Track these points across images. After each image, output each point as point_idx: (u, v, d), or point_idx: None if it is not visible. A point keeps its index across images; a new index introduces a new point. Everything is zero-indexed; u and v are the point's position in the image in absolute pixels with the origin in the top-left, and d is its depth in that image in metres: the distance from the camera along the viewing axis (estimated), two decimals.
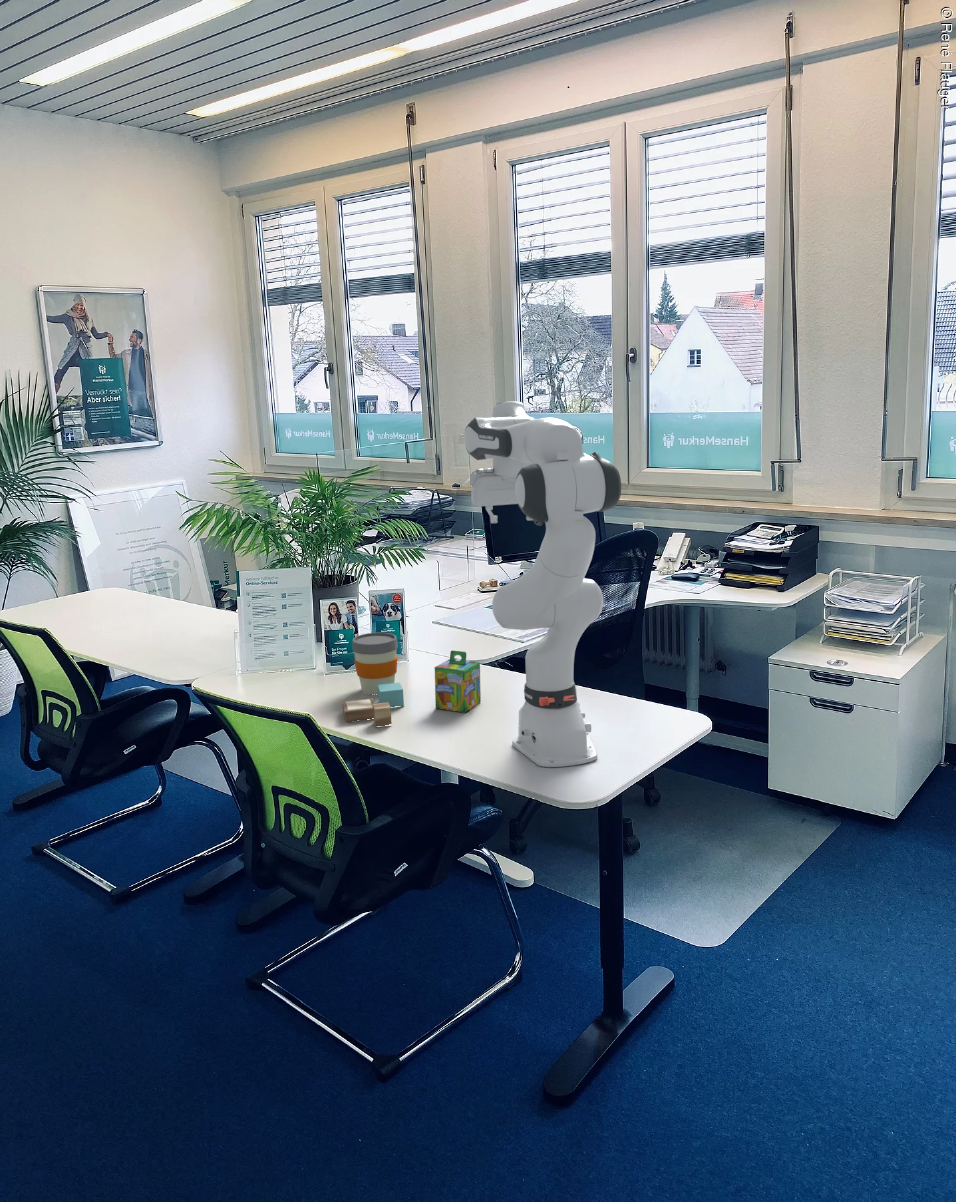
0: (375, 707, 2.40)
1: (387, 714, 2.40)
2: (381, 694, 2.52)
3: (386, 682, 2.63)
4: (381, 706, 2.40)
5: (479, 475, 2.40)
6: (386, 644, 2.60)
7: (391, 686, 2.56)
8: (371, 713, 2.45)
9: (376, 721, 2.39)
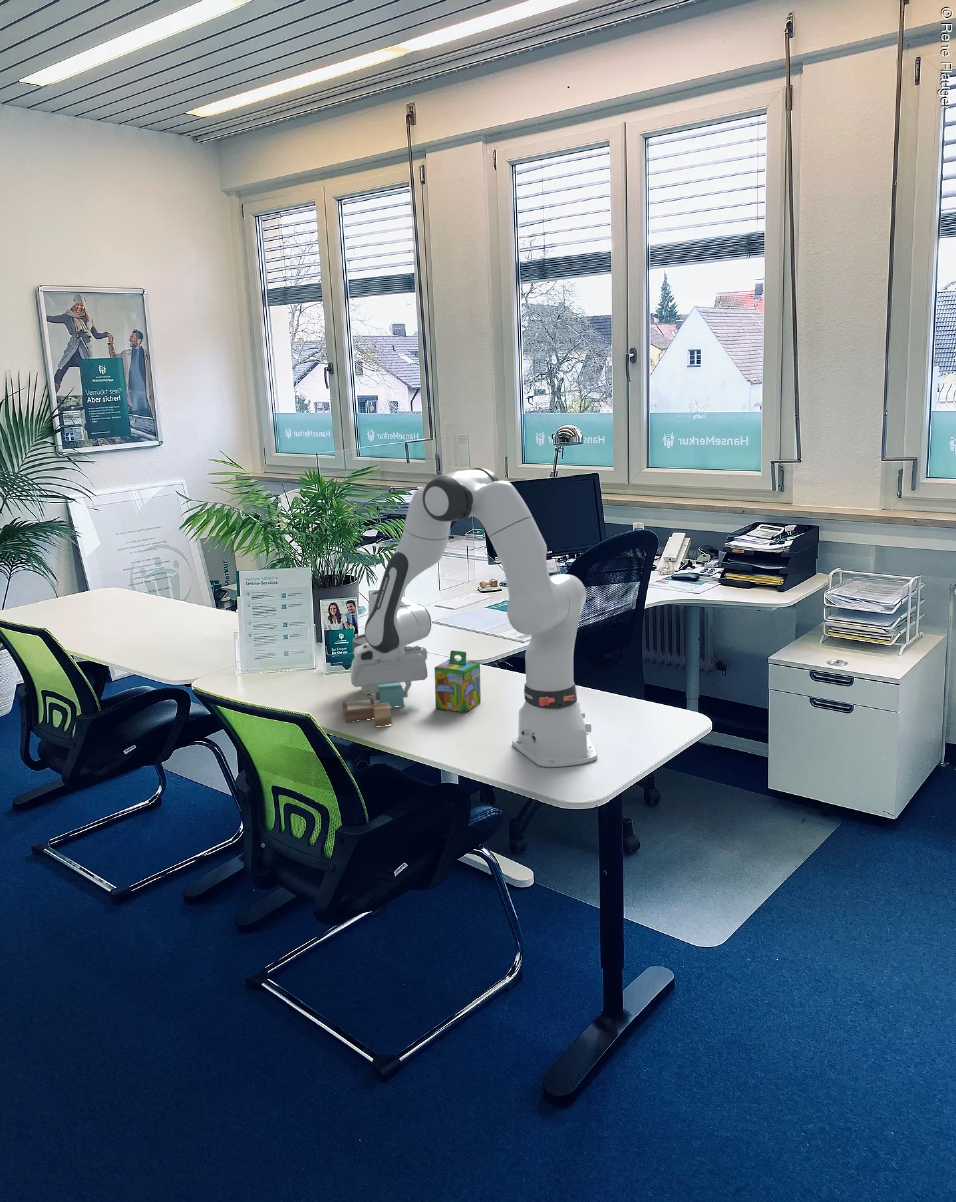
0: (375, 707, 2.40)
1: (387, 714, 2.40)
2: (381, 693, 2.52)
3: None
4: (381, 706, 2.40)
5: None
6: None
7: (391, 685, 2.56)
8: (371, 713, 2.45)
9: (376, 721, 2.39)
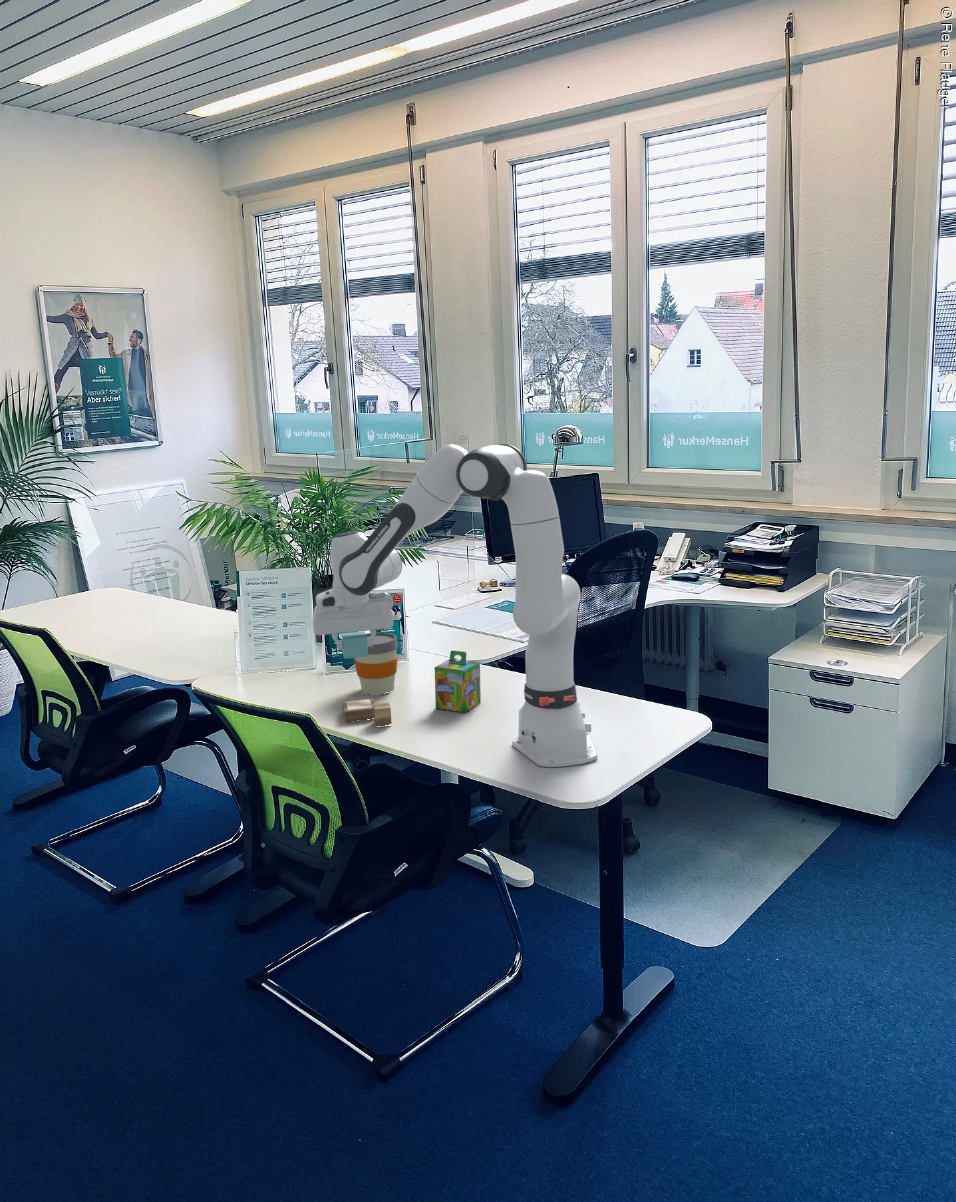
0: (375, 707, 2.40)
1: (387, 714, 2.40)
2: (344, 642, 2.40)
3: (386, 682, 2.63)
4: (381, 706, 2.40)
5: None
6: (386, 644, 2.60)
7: (355, 634, 2.44)
8: (371, 713, 2.45)
9: (376, 721, 2.39)
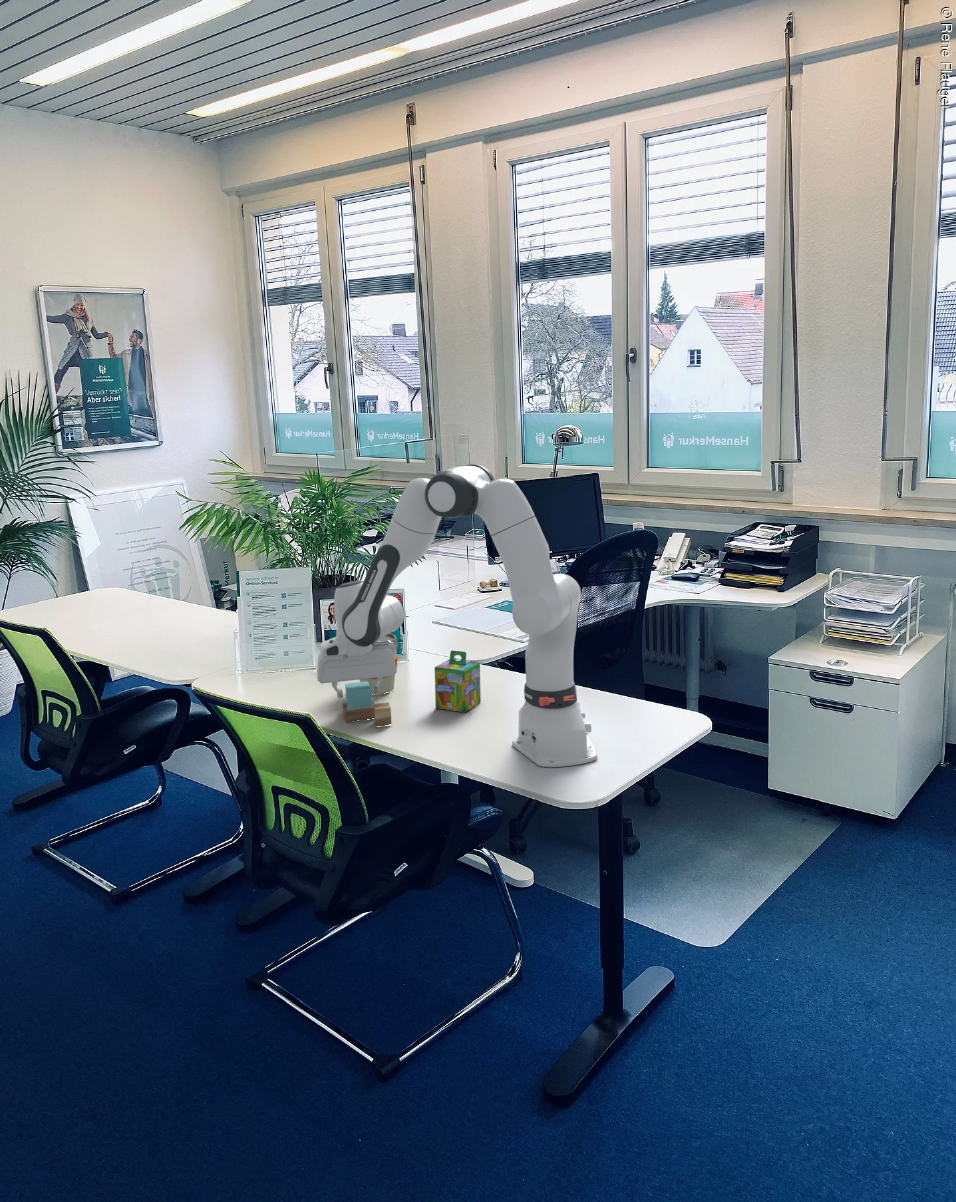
0: (375, 707, 2.40)
1: (387, 714, 2.40)
2: (348, 693, 2.44)
3: (386, 682, 2.63)
4: (381, 706, 2.40)
5: None
6: None
7: (359, 685, 2.47)
8: (371, 713, 2.45)
9: (376, 721, 2.39)
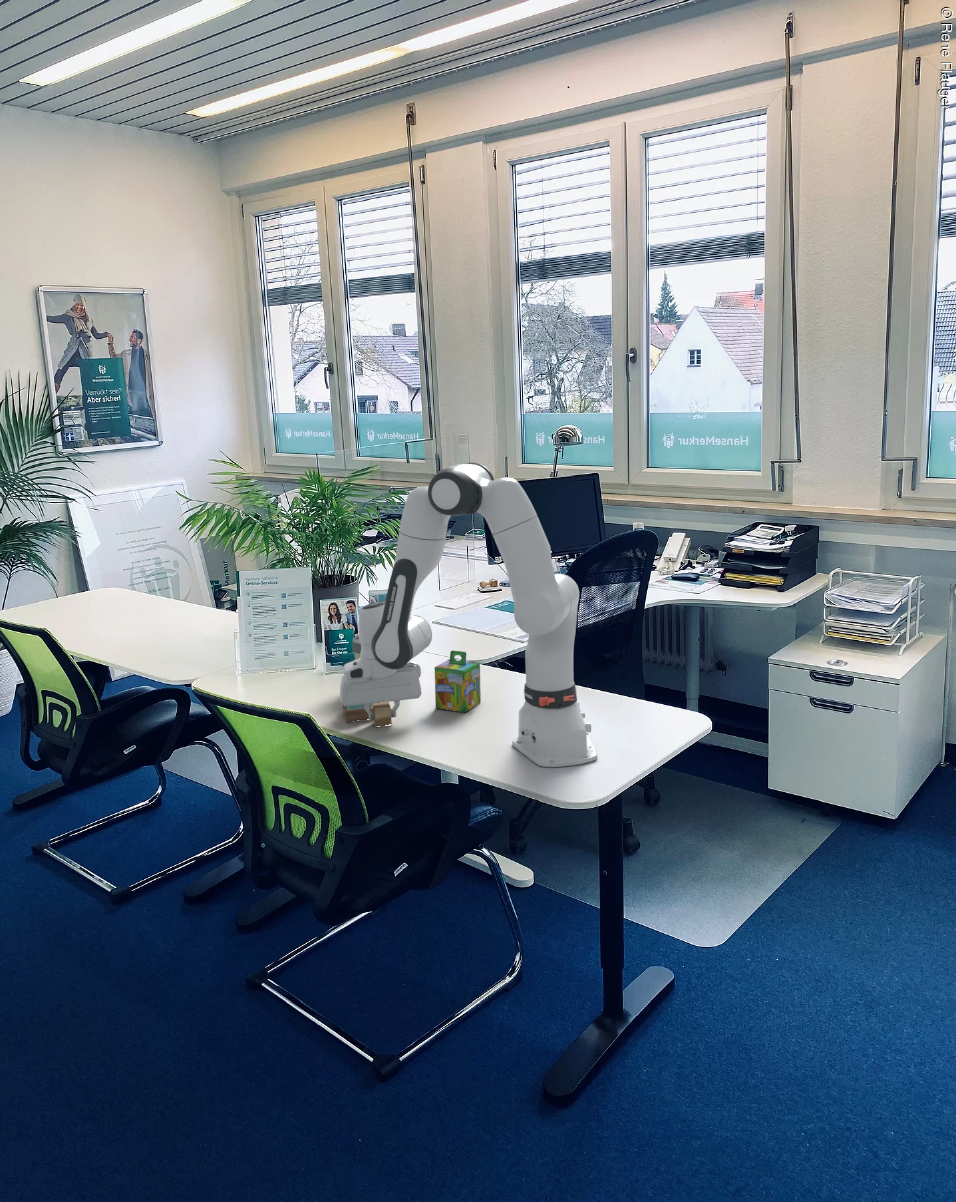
0: (375, 707, 2.40)
1: (387, 714, 2.40)
2: None
3: None
4: (381, 706, 2.40)
5: None
6: None
7: None
8: None
9: (376, 721, 2.39)
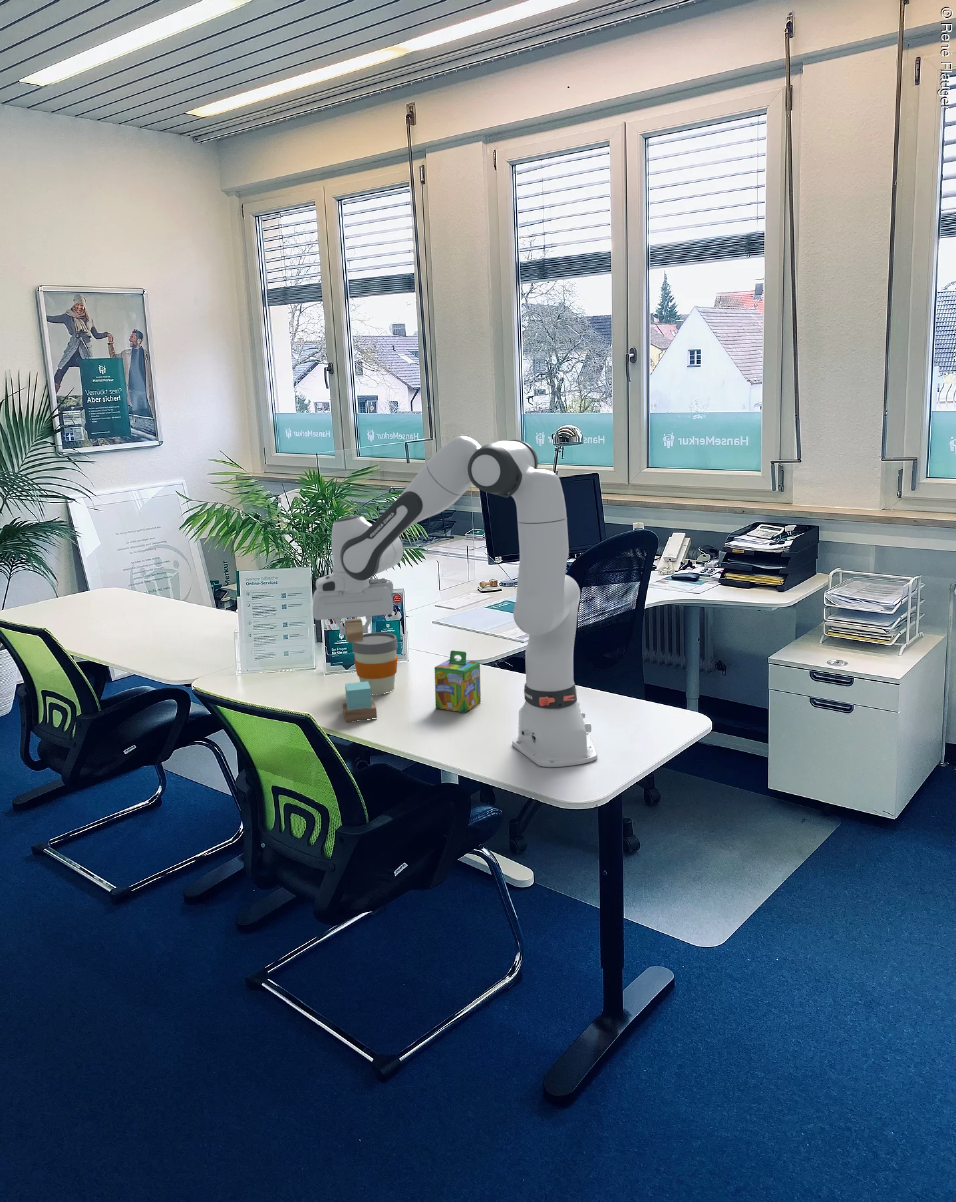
0: (347, 622, 2.41)
1: (359, 629, 2.41)
2: (348, 693, 2.44)
3: (386, 682, 2.63)
4: (353, 621, 2.41)
5: None
6: (386, 644, 2.60)
7: (359, 685, 2.47)
8: (371, 713, 2.45)
9: (348, 636, 2.41)
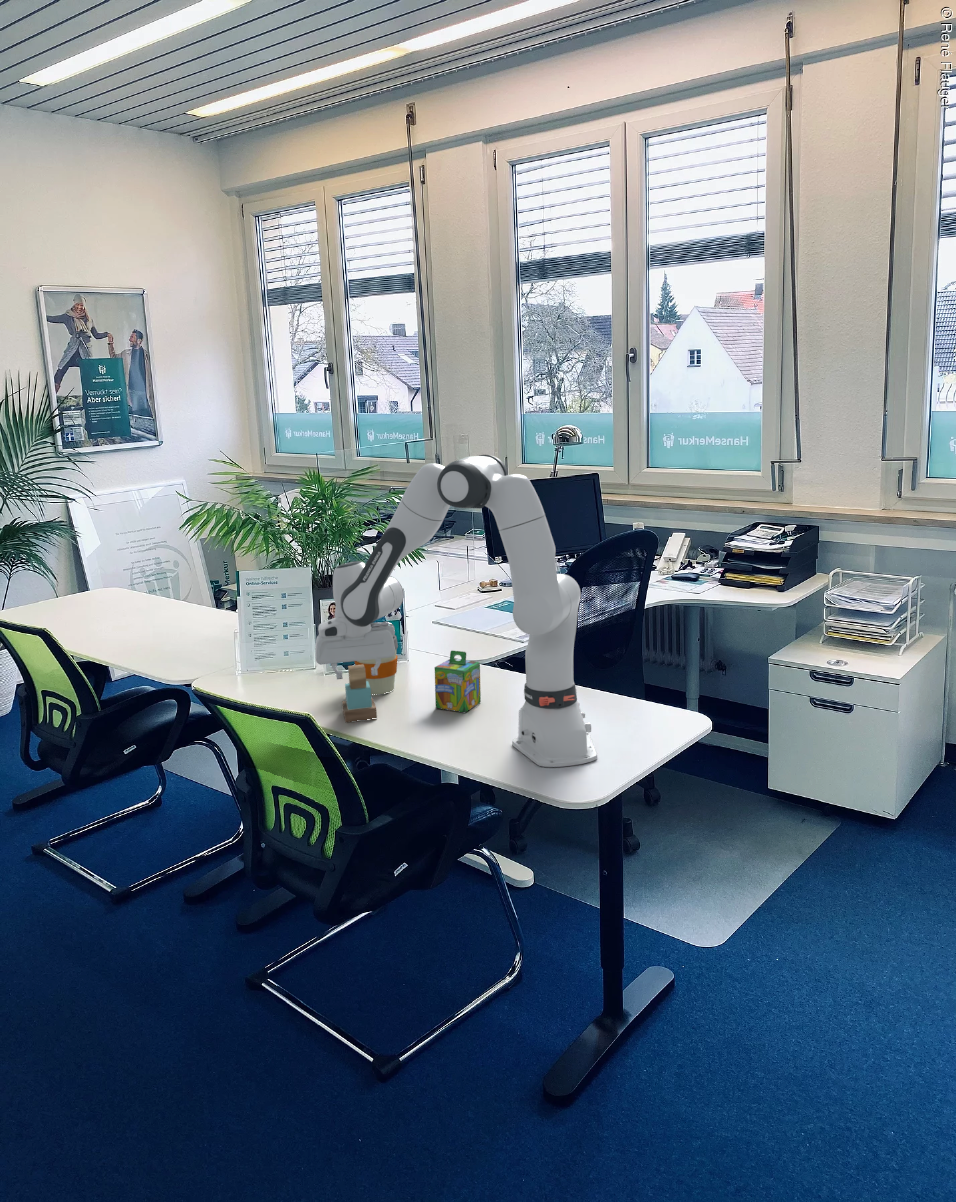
0: (350, 669, 2.44)
1: (362, 676, 2.44)
2: (348, 693, 2.44)
3: (386, 682, 2.63)
4: (356, 668, 2.45)
5: None
6: None
7: None
8: (371, 713, 2.45)
9: (351, 682, 2.44)
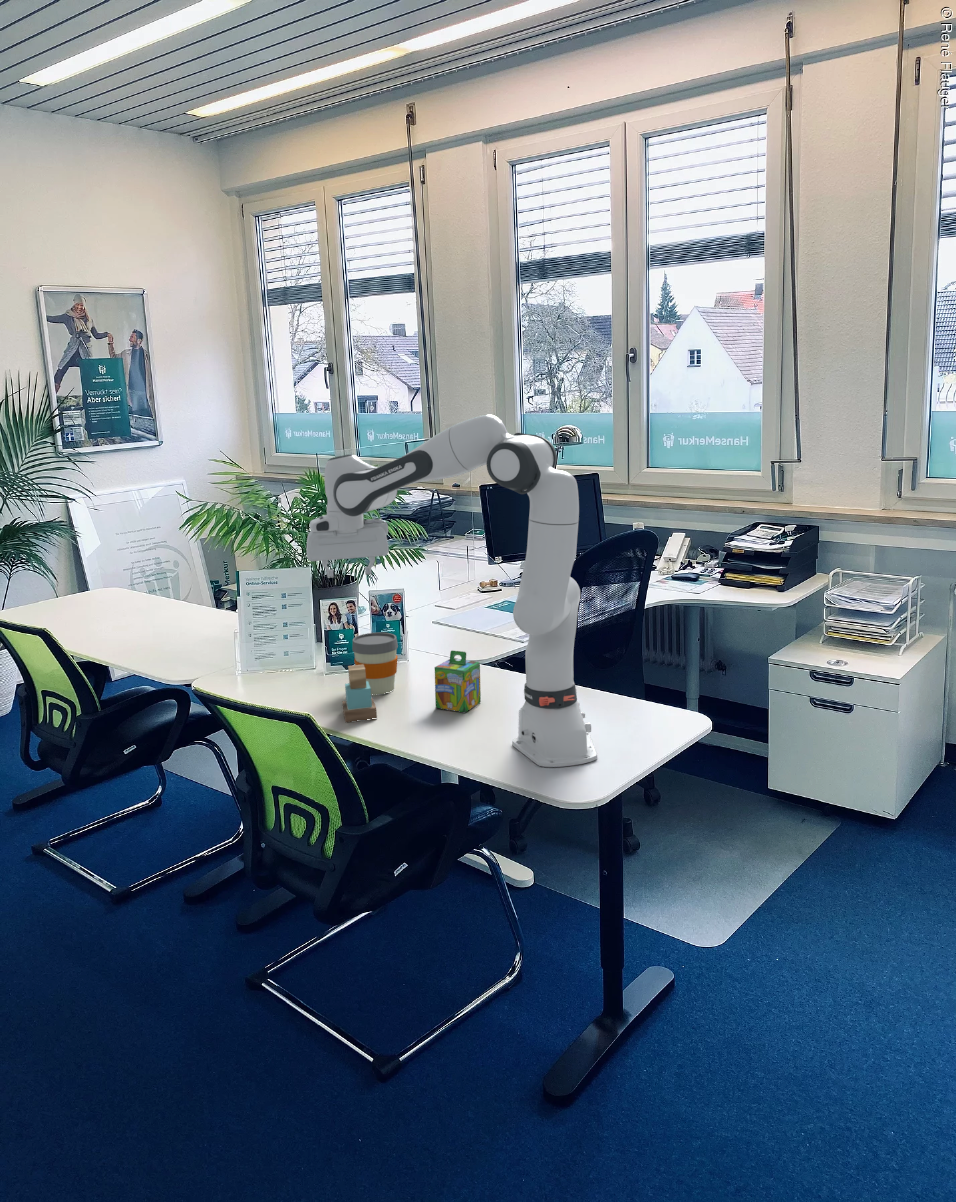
0: (350, 669, 2.44)
1: (362, 676, 2.44)
2: (348, 693, 2.44)
3: (386, 682, 2.63)
4: (356, 668, 2.45)
5: None
6: (386, 644, 2.60)
7: None
8: (371, 713, 2.45)
9: (351, 682, 2.44)
